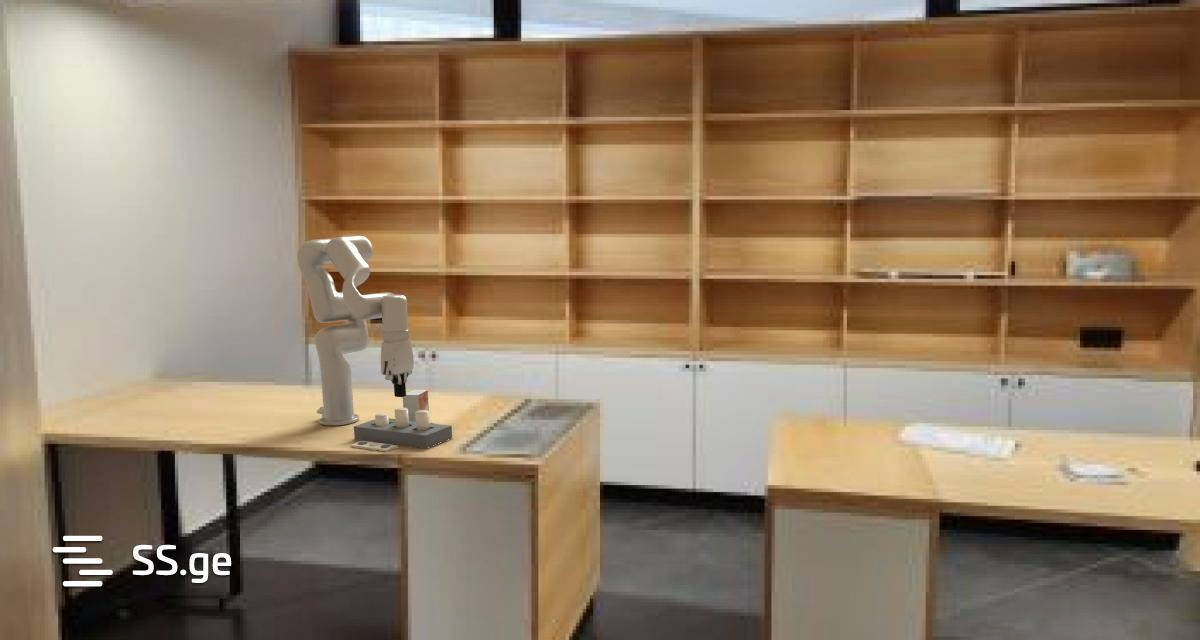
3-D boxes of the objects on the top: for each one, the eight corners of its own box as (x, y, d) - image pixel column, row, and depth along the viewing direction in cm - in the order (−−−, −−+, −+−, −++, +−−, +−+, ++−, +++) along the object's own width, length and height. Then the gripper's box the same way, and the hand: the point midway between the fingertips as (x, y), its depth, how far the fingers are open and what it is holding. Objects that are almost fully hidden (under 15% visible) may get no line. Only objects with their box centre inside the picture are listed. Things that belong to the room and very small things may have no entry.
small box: (420, 427, 294) (418, 395, 293) (404, 427, 295) (401, 394, 294) (430, 421, 302) (428, 389, 300) (414, 420, 303) (412, 389, 302)
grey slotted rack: (354, 439, 283) (353, 426, 282) (381, 429, 293) (380, 417, 292) (426, 448, 269) (425, 435, 268) (452, 438, 279) (451, 425, 279)
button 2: (393, 431, 280) (391, 410, 279) (402, 428, 283) (400, 407, 282) (403, 433, 278) (401, 411, 277) (412, 429, 281) (410, 408, 280)
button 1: (373, 437, 284) (372, 415, 283) (382, 433, 287) (381, 412, 287) (383, 438, 282) (382, 416, 281) (392, 435, 286) (391, 413, 285)
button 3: (413, 434, 276) (412, 412, 275) (422, 431, 279) (421, 409, 278) (424, 435, 274) (422, 413, 273) (432, 432, 277) (431, 410, 276)
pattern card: (350, 446, 274) (350, 444, 274) (362, 442, 278) (362, 439, 278) (386, 451, 267) (386, 449, 267) (398, 447, 272) (397, 444, 271)
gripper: (403, 332, 285) (407, 390, 287) (369, 339, 272) (373, 400, 274) (422, 333, 281) (426, 392, 284) (388, 340, 268) (393, 402, 271)
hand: (400, 396), depth 279 cm, fingers closed
